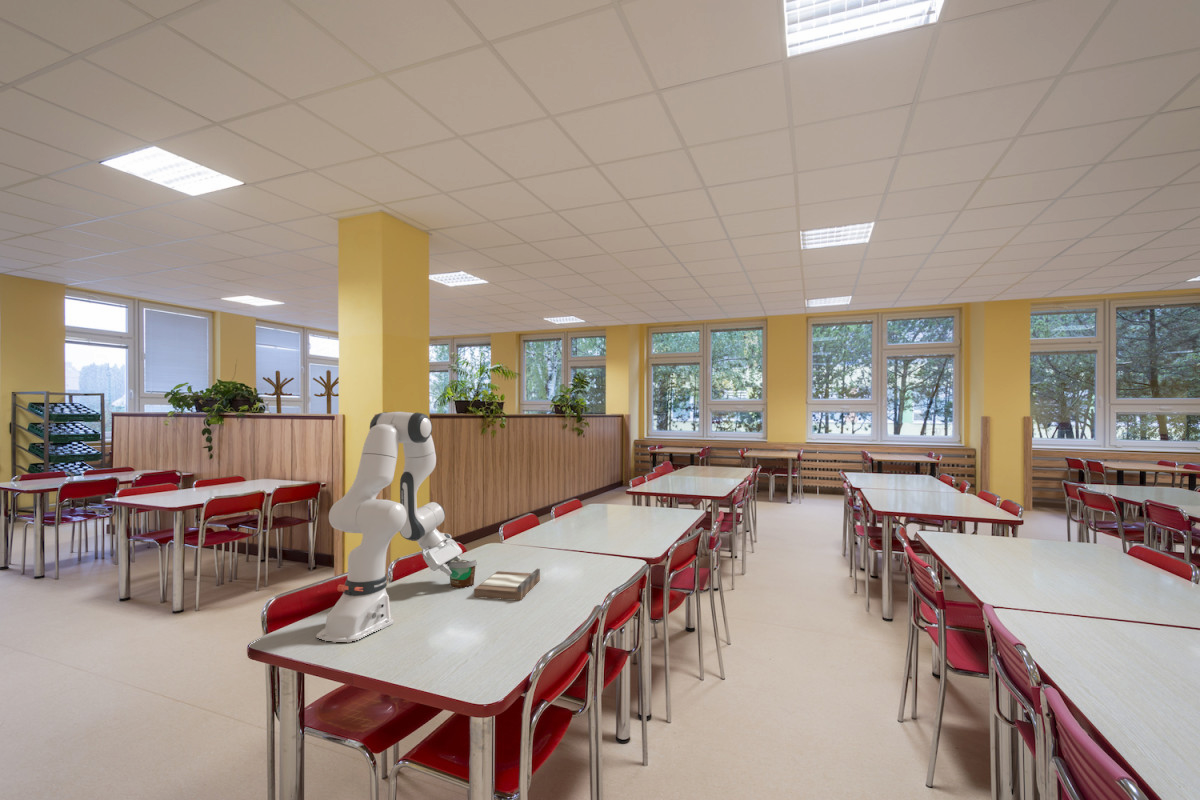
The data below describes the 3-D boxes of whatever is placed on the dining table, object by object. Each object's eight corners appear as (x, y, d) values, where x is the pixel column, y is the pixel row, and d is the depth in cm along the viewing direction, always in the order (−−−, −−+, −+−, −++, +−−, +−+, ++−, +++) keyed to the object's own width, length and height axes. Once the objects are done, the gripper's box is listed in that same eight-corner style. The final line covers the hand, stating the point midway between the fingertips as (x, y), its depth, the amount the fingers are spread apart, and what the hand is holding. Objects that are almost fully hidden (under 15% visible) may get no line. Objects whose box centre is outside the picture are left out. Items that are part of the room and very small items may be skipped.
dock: (520, 600, 181) (521, 586, 181) (473, 597, 184) (474, 583, 185) (539, 581, 203) (539, 568, 203) (497, 578, 206) (497, 566, 206)
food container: (440, 587, 195) (440, 561, 196) (449, 582, 201) (449, 557, 201) (468, 590, 192) (468, 563, 192) (476, 585, 197) (477, 559, 198)
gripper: (425, 545, 189) (449, 573, 186) (451, 533, 209) (473, 558, 206) (414, 556, 189) (437, 584, 187) (441, 543, 209) (463, 568, 207)
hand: (456, 570), depth 197 cm, fingers open, 8 cm apart
